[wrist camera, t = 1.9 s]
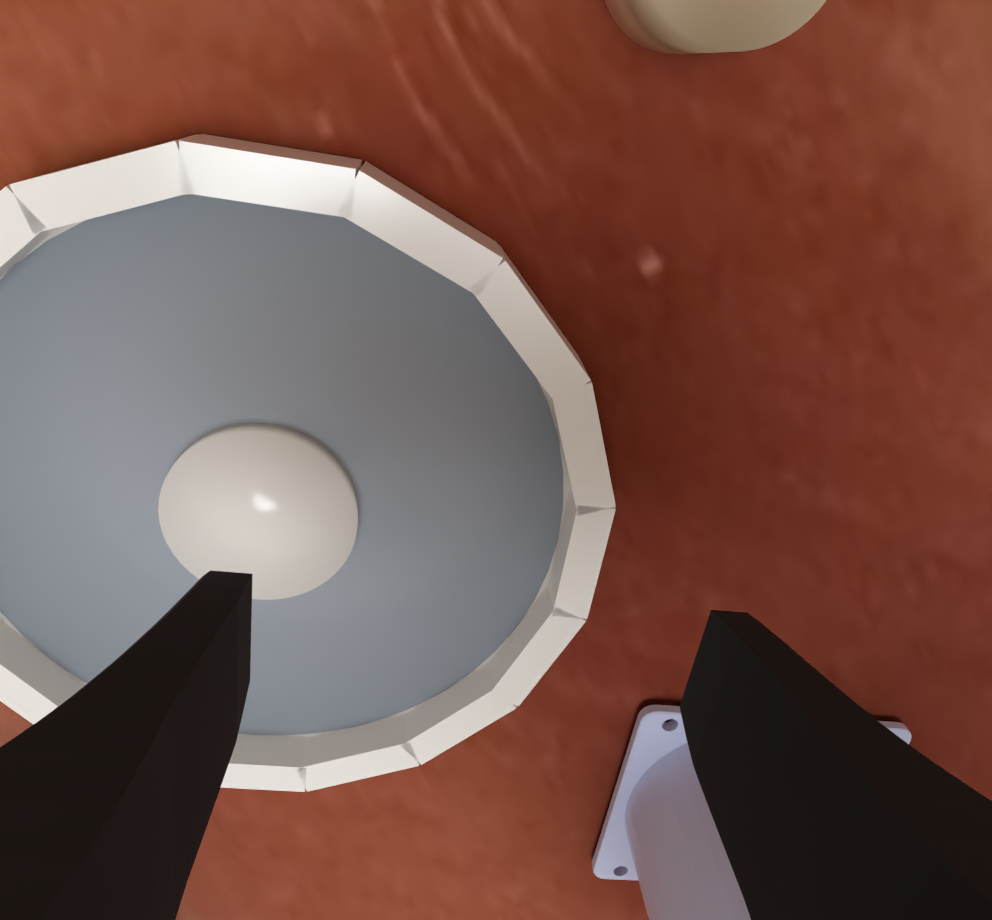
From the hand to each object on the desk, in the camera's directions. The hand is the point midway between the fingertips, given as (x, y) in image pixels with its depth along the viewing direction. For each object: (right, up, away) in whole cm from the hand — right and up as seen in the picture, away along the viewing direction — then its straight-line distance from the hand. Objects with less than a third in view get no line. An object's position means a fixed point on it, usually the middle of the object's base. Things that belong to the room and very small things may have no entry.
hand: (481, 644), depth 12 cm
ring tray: (-6, +2, +9) cm, 11 cm away
